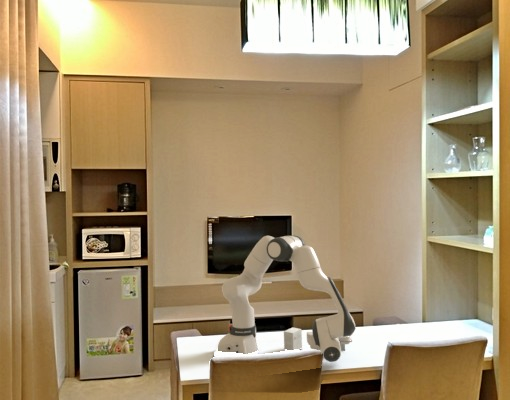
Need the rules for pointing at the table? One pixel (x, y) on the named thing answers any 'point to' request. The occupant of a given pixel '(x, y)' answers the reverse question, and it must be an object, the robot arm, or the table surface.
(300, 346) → the small box
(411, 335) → the table surface
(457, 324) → the table surface
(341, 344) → the post socket
